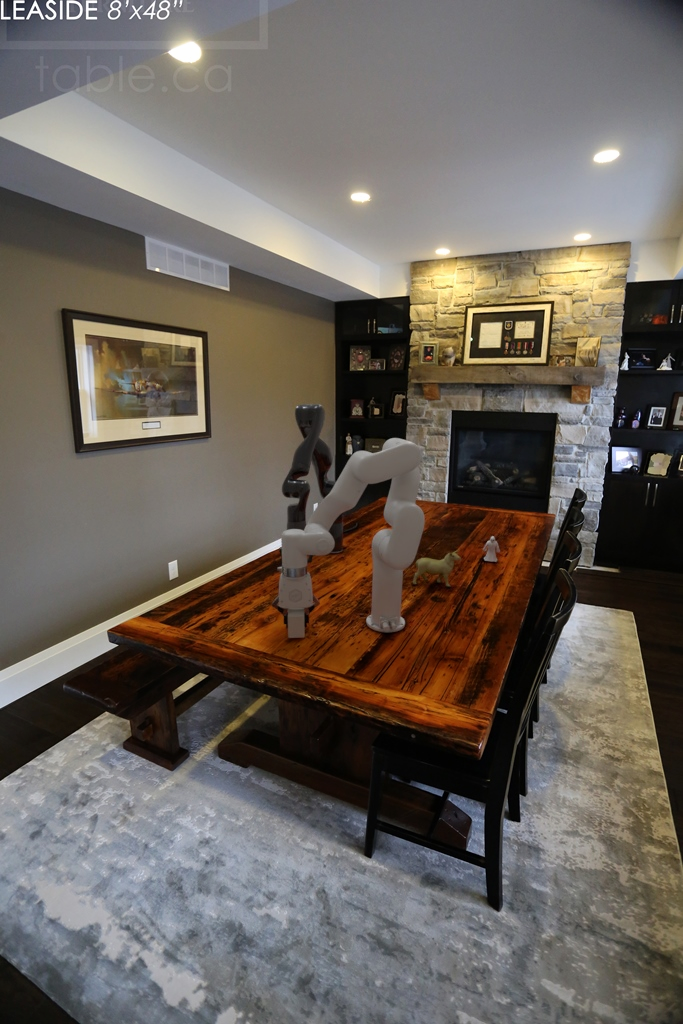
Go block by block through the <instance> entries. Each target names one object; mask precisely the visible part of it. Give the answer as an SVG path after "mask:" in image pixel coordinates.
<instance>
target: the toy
mask: <svg viewBox="0 0 683 1024" xmlns="http://www.w3.org/2000/svg"><path fill="white" fill-rule="evenodd" d="M459 552H460V550H455V551H453V552H448V553H447V554H446V555H445V556H444V558H442V559H433V558H430V557H421V558H419V559H416V562H415V567H416V568H417V571H416V572H415V573H414V576H413V579H412V584H413V586H417V585H418V583H417V580H418V578H419V577H420V576H421V577H422V578H423V579H424V582H428V581H429V578H428V577H427V575H425V574H426V573H427V574H429V575H432V576H437V575H438V576H437V577H438V578H437V579H436V583H437V584H442V582H441V579H442V578H443V579H444V583H445V586H446V587H447V588H448V589H450V588H452V586H451V585H450V583H449V575H451V573H452V572H453V569H454V567H455V561H457V562H461V560H462V558H461V556H459V555H458V553H459Z"/></svg>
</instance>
